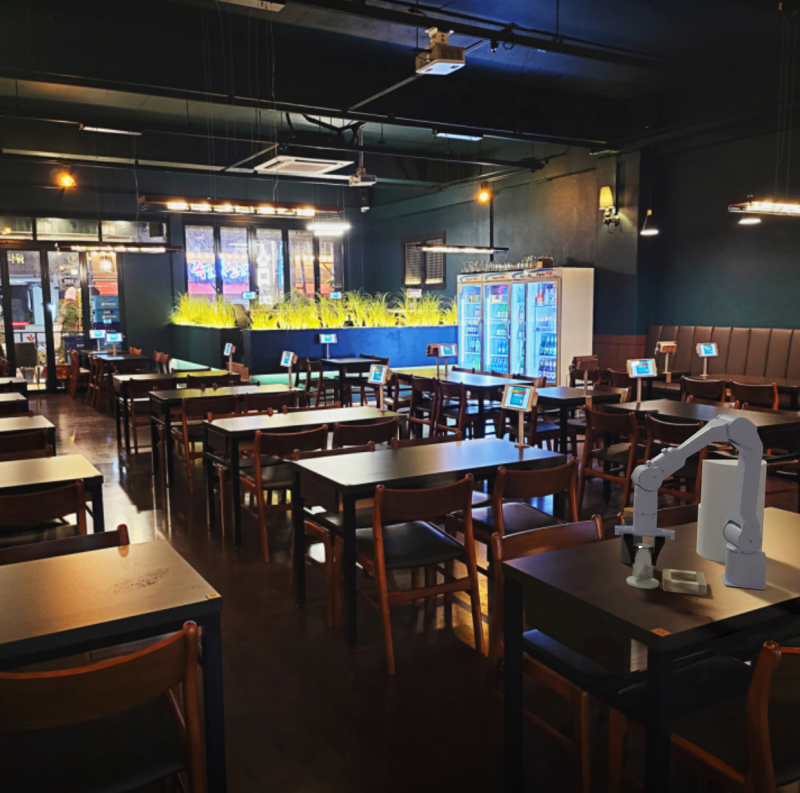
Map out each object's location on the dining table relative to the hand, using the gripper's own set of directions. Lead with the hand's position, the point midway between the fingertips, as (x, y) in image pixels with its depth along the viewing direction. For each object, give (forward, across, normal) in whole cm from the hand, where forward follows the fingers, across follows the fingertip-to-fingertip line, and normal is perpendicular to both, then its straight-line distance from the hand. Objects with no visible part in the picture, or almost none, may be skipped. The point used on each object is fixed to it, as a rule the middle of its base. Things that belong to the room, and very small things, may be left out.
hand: (643, 563), depth 188 cm
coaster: (+5, 0, 0) cm, 5 cm away
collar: (+5, -10, -1) cm, 11 cm away
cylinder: (+5, -24, -32) cm, 40 cm away
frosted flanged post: (+3, 0, 0) cm, 3 cm away
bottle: (+5, +3, -17) cm, 18 cm away
